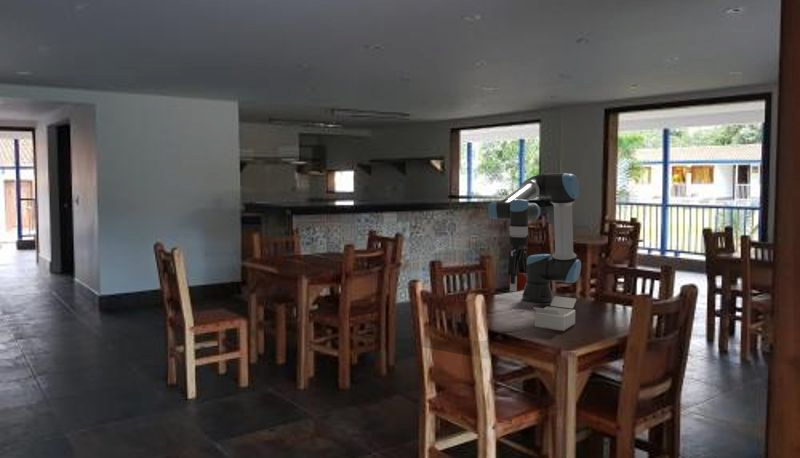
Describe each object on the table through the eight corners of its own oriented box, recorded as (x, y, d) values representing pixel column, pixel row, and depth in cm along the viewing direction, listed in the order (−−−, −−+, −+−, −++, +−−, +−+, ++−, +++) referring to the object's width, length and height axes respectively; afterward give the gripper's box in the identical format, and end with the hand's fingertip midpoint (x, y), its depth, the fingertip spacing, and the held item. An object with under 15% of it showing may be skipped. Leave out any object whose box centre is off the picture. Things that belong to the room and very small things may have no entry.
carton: (546, 319, 277) (546, 306, 277) (575, 323, 270) (576, 310, 270) (533, 326, 265) (534, 312, 264) (564, 331, 258) (565, 316, 257)
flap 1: (561, 315, 258) (560, 315, 258) (537, 311, 263) (537, 312, 263) (557, 310, 253) (556, 310, 253) (533, 307, 258) (533, 307, 258)
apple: (524, 288, 271) (525, 270, 270) (527, 292, 263) (528, 273, 262) (506, 288, 271) (507, 270, 270) (509, 291, 263) (509, 273, 263)
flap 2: (550, 305, 276) (550, 305, 276) (572, 308, 271) (572, 308, 271) (554, 296, 280) (554, 296, 280) (576, 298, 275) (576, 299, 275)
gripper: (519, 233, 276) (518, 285, 278) (500, 237, 258) (498, 292, 261) (536, 234, 272) (534, 286, 274) (517, 238, 254) (516, 294, 256)
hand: (517, 289), depth 267 cm, fingers closed on apple, 8 cm apart
